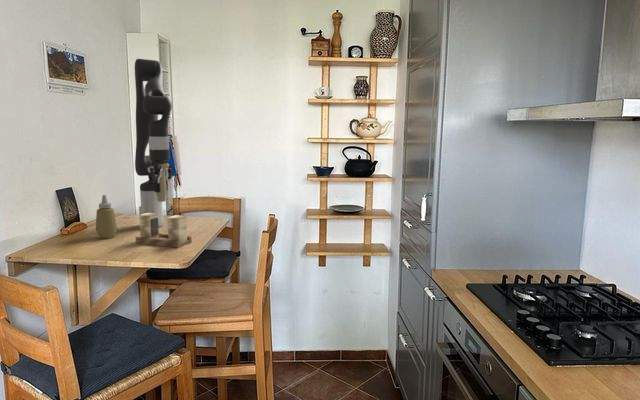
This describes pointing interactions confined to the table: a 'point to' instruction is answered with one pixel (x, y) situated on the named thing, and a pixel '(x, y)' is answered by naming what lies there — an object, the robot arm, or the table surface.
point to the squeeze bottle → (105, 220)
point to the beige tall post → (162, 184)
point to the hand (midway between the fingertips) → (161, 191)
